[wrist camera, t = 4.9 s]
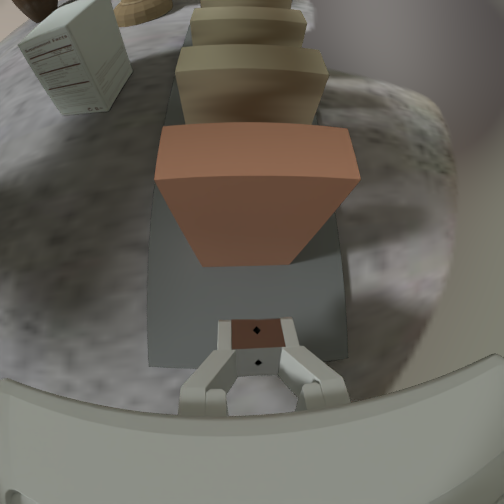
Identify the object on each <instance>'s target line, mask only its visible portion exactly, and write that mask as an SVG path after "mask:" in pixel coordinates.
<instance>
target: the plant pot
mask: <svg viewBox="0 0 504 504" xmlns="http://www.w3.org/2000/svg"><path fill="white" fill-rule="evenodd" d="M12 1H13V2H14V4H15V5H16V6H17V7H18V8H19V9H20V10H21V11H22V12H23V13H24V14H25V15H26V16H27V17H29V18H30V19H31V20H33V21H34V22H36V23H39V22H41V21H43V20H44V19H46V18H47V17H48V16H49V15H50V14H51V13H53V12H54V11H55V10H56V9H57V5H58V0H12Z"/></svg>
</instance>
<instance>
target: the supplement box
mask: <svg viewBox="0 0 504 504" xmlns="http://www.w3.org/2000/svg"><path fill="white" fill-rule="evenodd" d="M18 47H19V48H20V50H21V52H22V54H23V55H24V57H25V59H26V60H27V62H28V64H29V65H30V67H31V69H32V70H33V72H34V73H35V75H36V77H37V78H38V80H39V81H40V83H41V84H42V86H43V88H44V89H45V91H46V92H47V94H48V95H49V97H50V98H51V100H52V101H53V103H54V104H55V106H56V107H57V109H58V110H59V111H60V113H61V114H62V115H63V116H67V115H76V114H85V113H95V112H106V111H109V110H110V108H111V106H112V104H113V103H114V101H115V99H116V97H117V96H118V94H119V92H120V91H121V89H122V87H123V86H124V84H125V83H126V81H127V79H128V78H129V76H130V75H131V73H132V72H133V70H132V67H131V64H130V61H129V58H128V55H127V52H126V49H125V46H124V43H123V40H122V37H121V34H120V30H119V27H118V24H117V21H116V17H115V14H114V11H113V7H112V3H111V0H77V1H75V2H72V3H70V4H67V5H65V6H62V7H60V8H58V9H56V10H55V11H54V12H53V13H51V14H50V15H49V16H48V17H47V18H46V19H44V20H43V21H42V22H41V23H40V24H39V25H38V26H37V27H36V28H34V29H33V30H32V31H31V32H30V33H29V34H28V35H27V36H26V37H25V38H24V39H23V40H22V41H21V42H20V43H19V44H18Z"/></svg>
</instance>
